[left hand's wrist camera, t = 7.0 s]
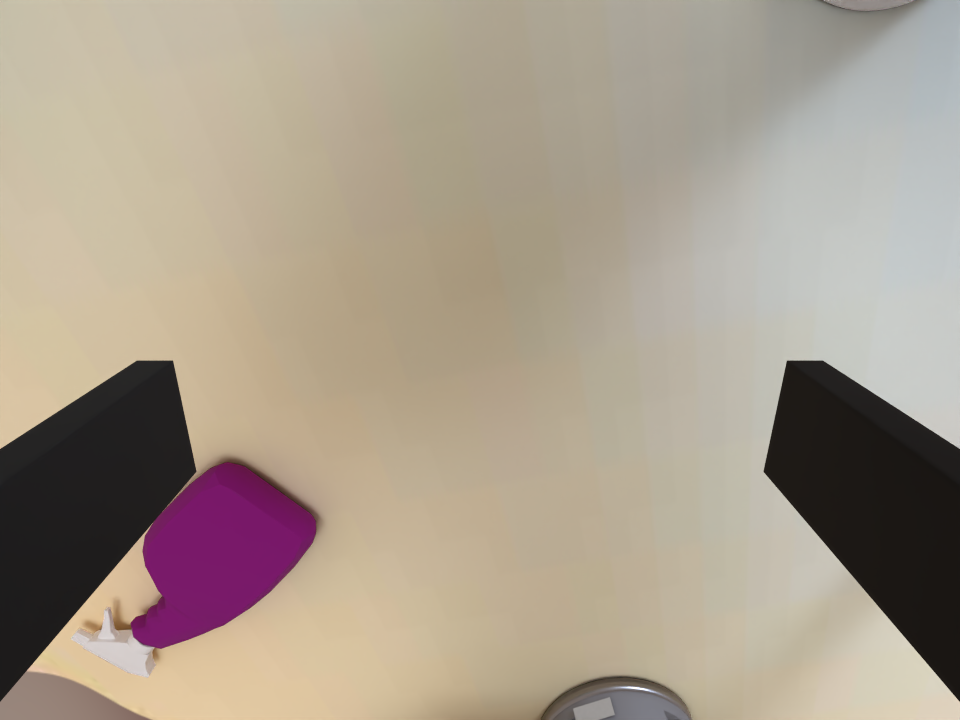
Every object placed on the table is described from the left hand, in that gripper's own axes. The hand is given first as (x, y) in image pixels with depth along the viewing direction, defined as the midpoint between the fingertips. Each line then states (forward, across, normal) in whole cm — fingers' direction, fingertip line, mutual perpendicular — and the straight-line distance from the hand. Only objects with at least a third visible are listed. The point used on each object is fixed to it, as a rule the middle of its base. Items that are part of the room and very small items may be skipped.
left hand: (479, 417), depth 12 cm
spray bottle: (+28, +25, +29) cm, 47 cm away
